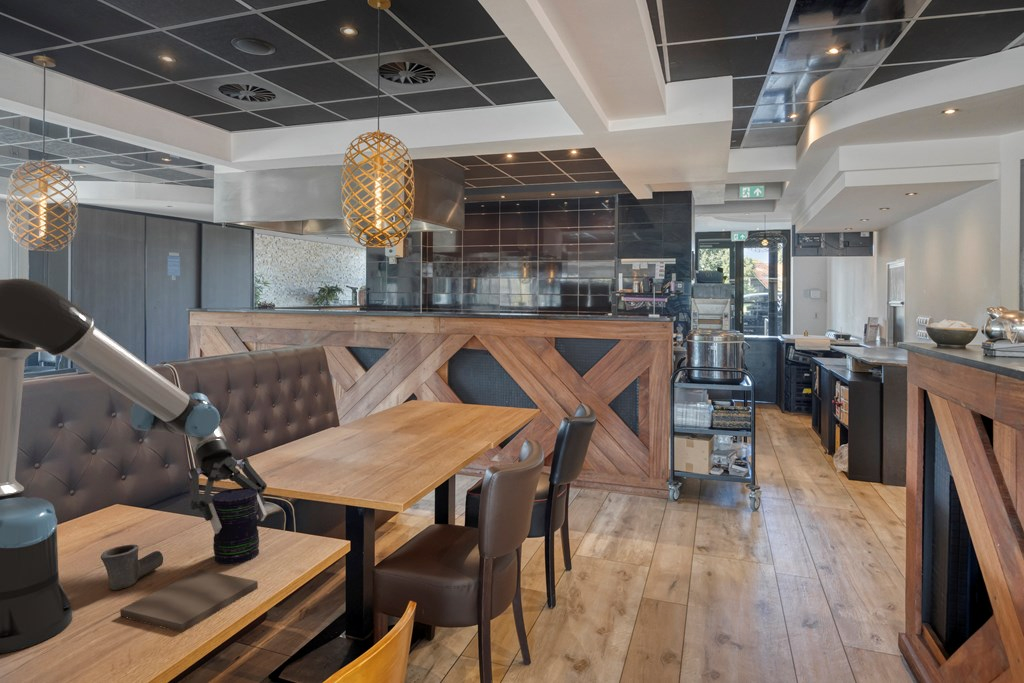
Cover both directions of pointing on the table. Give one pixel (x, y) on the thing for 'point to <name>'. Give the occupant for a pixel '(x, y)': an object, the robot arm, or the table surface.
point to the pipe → (128, 565)
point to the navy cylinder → (236, 526)
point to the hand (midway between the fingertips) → (241, 524)
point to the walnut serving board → (189, 600)
